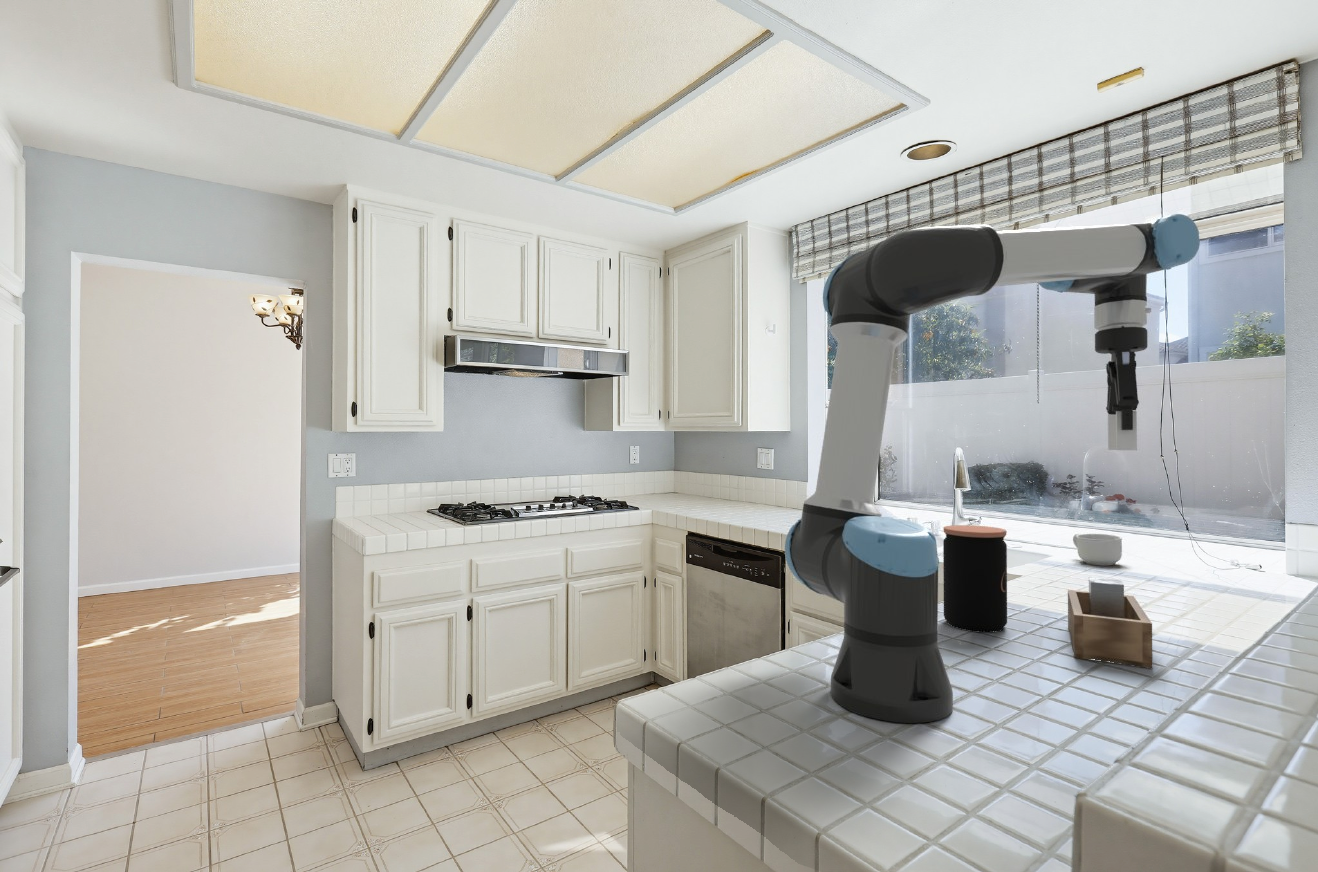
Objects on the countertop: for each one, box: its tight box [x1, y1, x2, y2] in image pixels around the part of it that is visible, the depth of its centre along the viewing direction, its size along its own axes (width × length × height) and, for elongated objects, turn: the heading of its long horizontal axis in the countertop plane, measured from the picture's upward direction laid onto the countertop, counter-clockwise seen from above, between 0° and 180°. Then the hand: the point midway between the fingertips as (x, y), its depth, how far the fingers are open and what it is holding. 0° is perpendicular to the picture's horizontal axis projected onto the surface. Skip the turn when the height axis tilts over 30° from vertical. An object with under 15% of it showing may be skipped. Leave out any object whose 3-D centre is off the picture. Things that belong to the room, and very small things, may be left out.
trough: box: [1067, 589, 1153, 669], centre depth 109 cm, size 10×21×7 cm, turn 150°
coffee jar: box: [942, 524, 1008, 633], centre depth 121 cm, size 11×11×18 cm
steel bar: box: [1088, 576, 1125, 619], centre depth 109 cm, size 4×4×10 cm
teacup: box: [1072, 533, 1123, 567], centre depth 186 cm, size 14×11×8 cm
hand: (1121, 450), depth 113 cm, fingers open, 13 cm apart
